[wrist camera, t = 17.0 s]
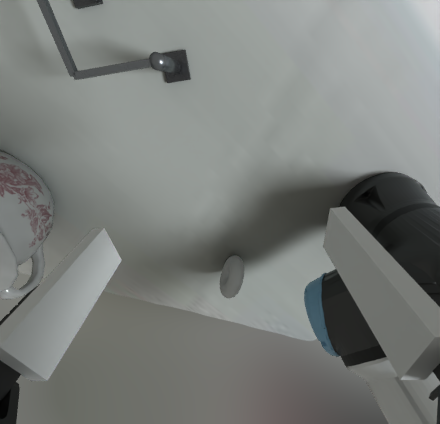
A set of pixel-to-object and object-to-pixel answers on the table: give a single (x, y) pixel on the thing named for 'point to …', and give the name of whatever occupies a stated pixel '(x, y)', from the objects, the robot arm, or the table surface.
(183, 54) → the dark grey angled piece
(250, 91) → the table surface
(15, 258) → the chamber pot
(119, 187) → the table surface
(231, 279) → the donut
